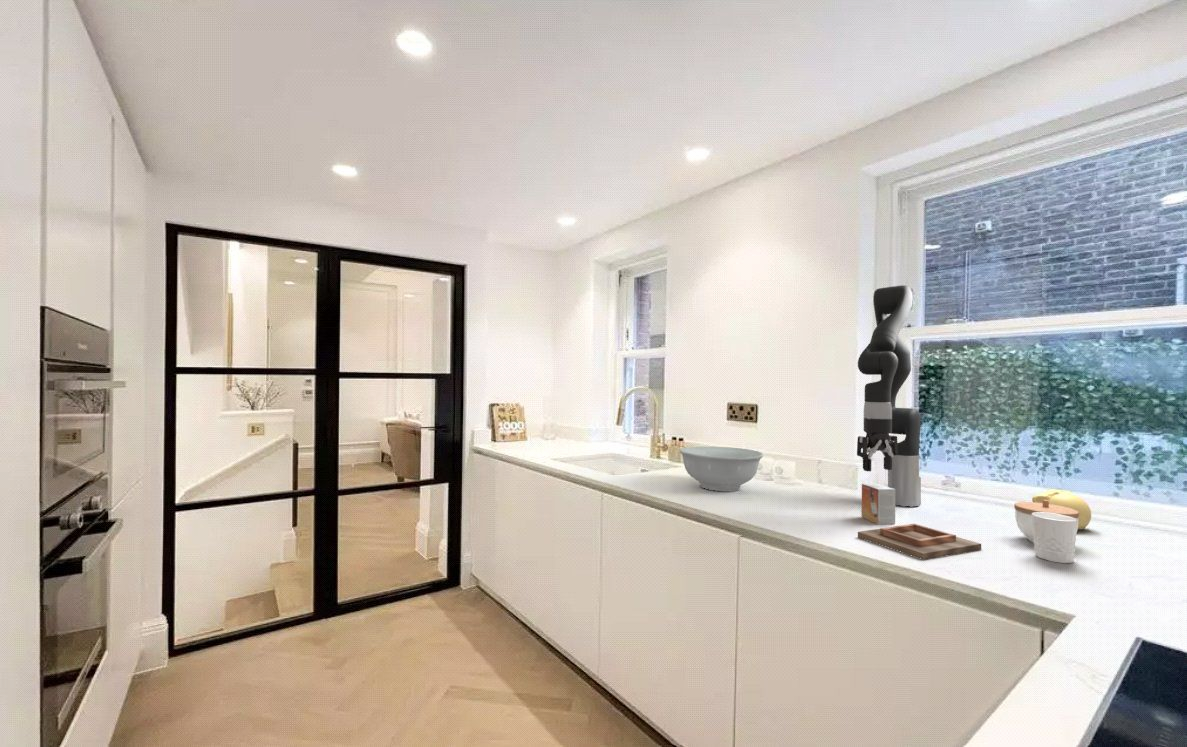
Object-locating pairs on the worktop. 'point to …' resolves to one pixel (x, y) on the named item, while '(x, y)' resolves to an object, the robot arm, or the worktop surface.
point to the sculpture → (1067, 504)
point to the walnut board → (919, 541)
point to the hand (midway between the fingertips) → (877, 470)
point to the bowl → (721, 466)
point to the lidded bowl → (1027, 508)
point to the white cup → (1054, 536)
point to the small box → (878, 503)
